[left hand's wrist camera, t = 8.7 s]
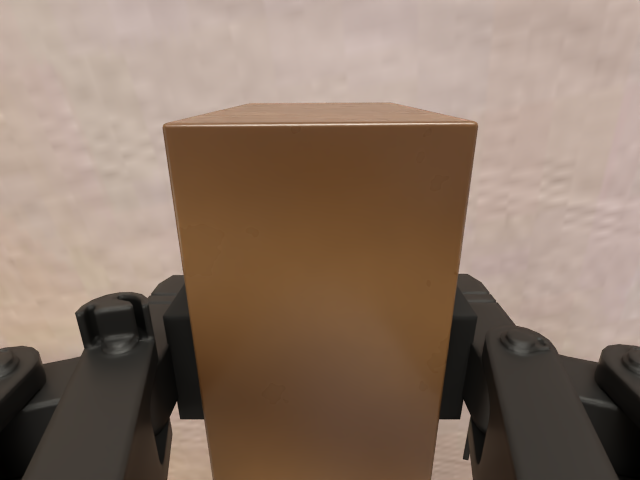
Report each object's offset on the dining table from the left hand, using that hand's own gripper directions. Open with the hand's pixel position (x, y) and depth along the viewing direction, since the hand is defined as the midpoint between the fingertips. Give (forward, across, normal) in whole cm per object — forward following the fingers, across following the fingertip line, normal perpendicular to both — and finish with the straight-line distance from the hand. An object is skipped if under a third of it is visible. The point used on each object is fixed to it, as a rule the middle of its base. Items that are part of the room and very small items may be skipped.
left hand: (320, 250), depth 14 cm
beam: (0, 0, -21) cm, 21 cm away
